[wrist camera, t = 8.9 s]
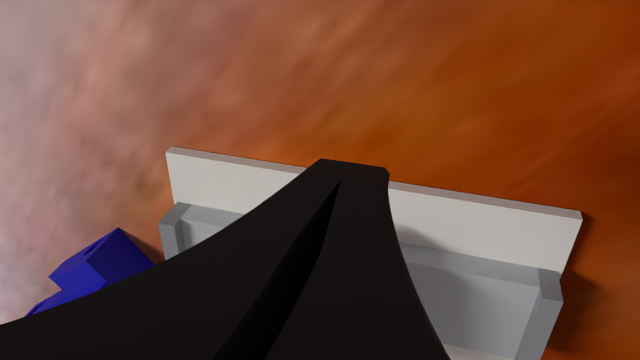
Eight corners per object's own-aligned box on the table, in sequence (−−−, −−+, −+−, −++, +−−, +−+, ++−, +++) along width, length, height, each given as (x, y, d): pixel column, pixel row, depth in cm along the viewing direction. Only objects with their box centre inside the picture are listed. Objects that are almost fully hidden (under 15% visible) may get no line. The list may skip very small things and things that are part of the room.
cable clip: (119, 225, 28) (43, 303, 23) (174, 281, 29) (112, 366, 24) (20, 288, 34) (-57, 360, 29) (69, 332, 35) (3, 408, 30)
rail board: (580, 211, 20) (591, 249, 18) (520, 369, 25) (523, 412, 23) (172, 146, 23) (144, 172, 21) (196, 296, 29) (175, 327, 27)
